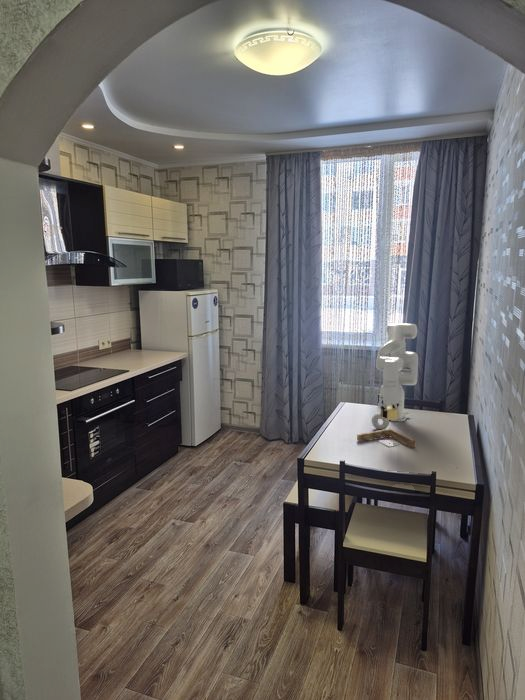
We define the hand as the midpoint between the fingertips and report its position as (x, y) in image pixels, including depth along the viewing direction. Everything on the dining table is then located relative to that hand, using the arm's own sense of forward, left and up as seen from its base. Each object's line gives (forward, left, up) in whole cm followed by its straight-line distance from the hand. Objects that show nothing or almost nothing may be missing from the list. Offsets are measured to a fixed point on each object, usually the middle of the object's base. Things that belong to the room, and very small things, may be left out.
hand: (389, 416), depth 244 cm
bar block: (0, 0, -1) cm, 1 cm away
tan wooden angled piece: (+3, +1, -15) cm, 15 cm away
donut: (-10, -19, -15) cm, 26 cm away
